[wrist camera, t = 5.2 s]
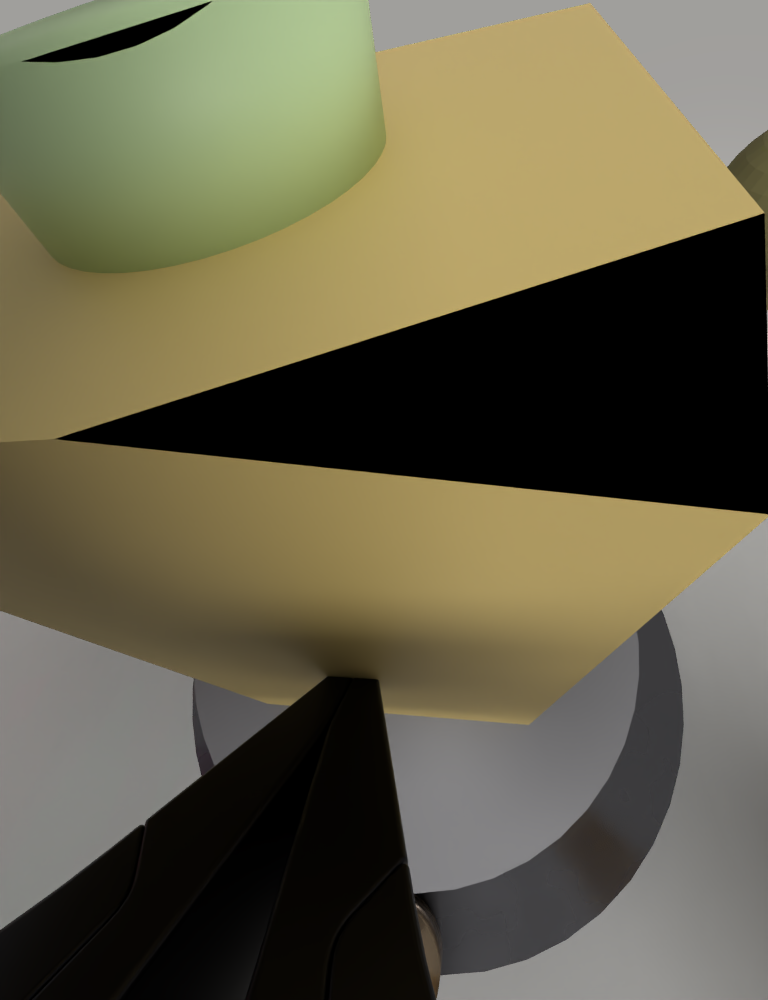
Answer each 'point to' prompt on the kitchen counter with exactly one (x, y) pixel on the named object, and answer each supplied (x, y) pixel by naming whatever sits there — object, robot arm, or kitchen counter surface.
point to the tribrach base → (563, 841)
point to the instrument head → (374, 380)
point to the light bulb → (755, 179)
